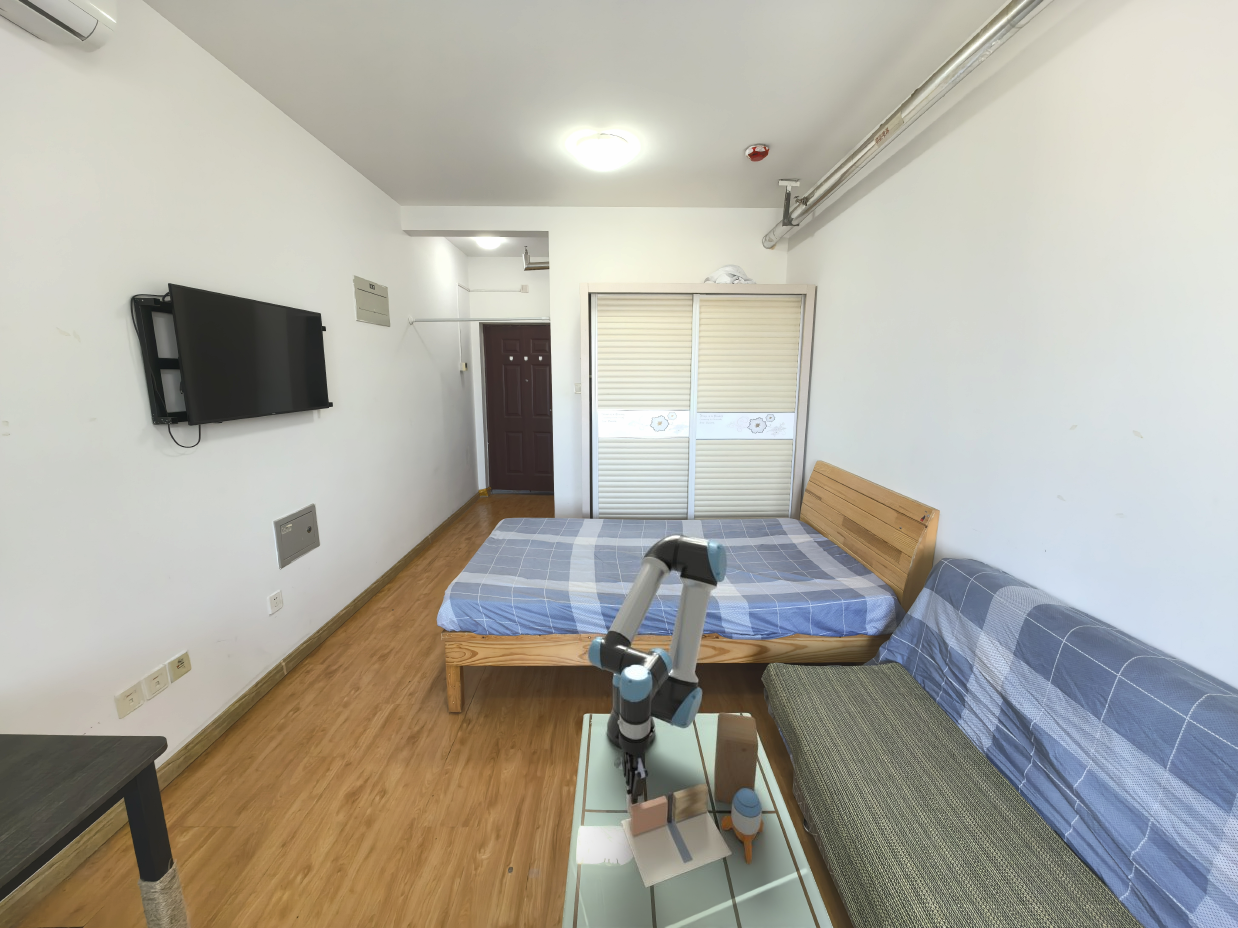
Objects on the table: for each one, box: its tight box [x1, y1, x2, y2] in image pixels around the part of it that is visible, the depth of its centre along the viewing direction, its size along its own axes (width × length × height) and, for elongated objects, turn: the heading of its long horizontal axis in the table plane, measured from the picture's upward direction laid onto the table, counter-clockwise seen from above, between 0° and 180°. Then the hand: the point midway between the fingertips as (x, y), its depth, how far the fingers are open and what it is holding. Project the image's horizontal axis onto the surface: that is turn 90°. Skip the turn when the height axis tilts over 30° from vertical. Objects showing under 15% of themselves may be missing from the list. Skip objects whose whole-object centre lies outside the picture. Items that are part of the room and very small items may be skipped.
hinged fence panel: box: [630, 795, 668, 836], centre depth 114 cm, size 9×2×7 cm, turn 109°
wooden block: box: [713, 711, 759, 805], centre depth 124 cm, size 10×10×20 cm
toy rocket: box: [720, 788, 764, 865], centre depth 112 cm, size 10×11×15 cm
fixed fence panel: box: [667, 782, 709, 823], centre depth 117 cm, size 11×2×9 cm, turn 109°
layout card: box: [620, 805, 733, 888], centre depth 112 cm, size 16×22×1 cm
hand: (632, 808), depth 117 cm, fingers closed
